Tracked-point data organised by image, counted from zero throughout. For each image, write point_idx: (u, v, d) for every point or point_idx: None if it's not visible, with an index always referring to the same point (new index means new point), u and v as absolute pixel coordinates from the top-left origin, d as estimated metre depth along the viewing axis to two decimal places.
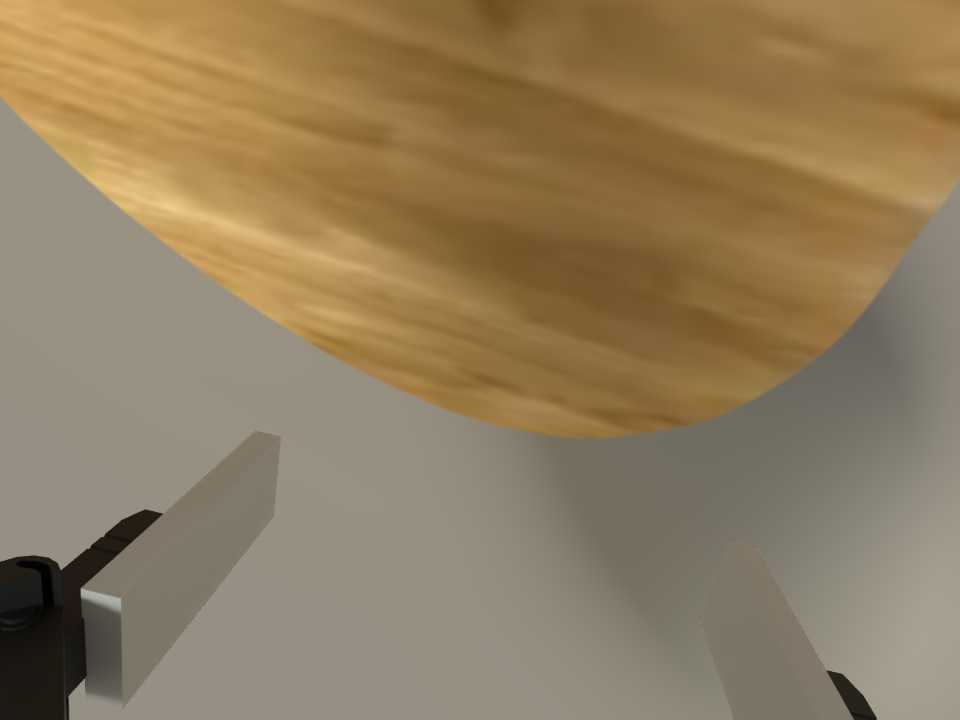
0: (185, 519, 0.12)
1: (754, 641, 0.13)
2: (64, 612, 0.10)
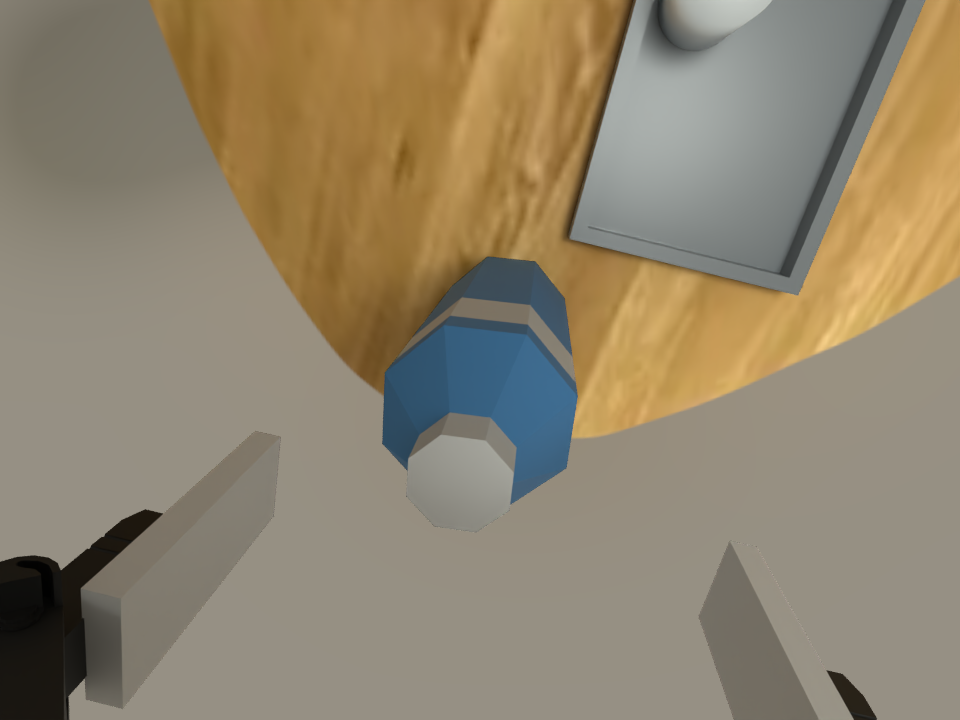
0: (185, 519, 0.12)
1: (754, 641, 0.13)
2: (64, 612, 0.10)
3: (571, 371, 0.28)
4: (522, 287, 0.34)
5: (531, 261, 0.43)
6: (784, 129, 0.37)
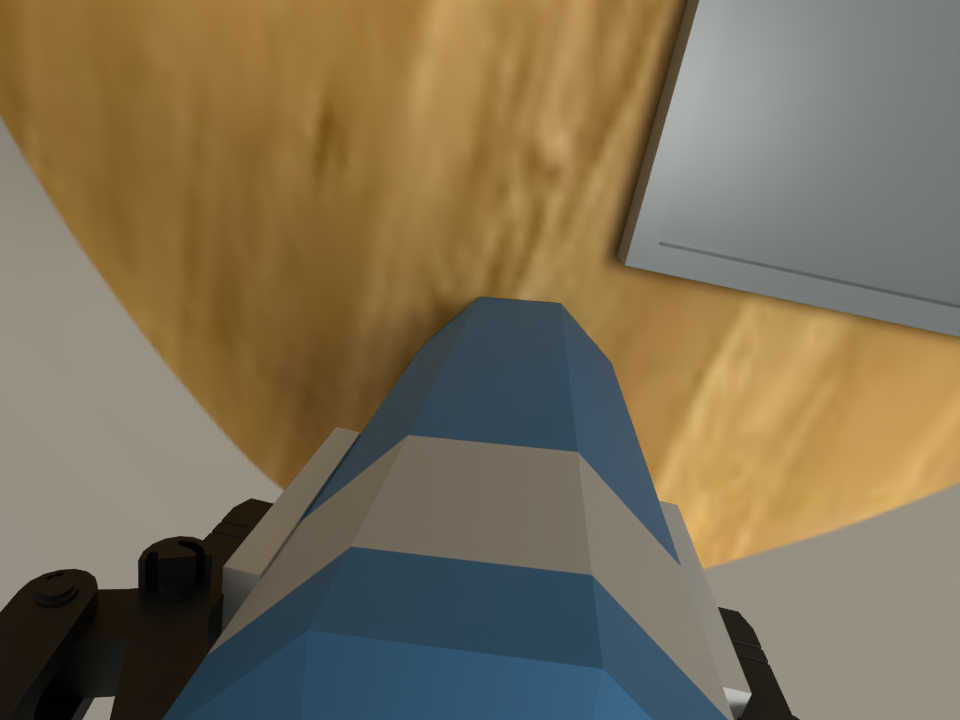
0: (296, 506, 0.14)
1: None
2: None
3: (710, 667, 0.10)
4: (548, 379, 0.16)
5: (554, 303, 0.25)
6: None
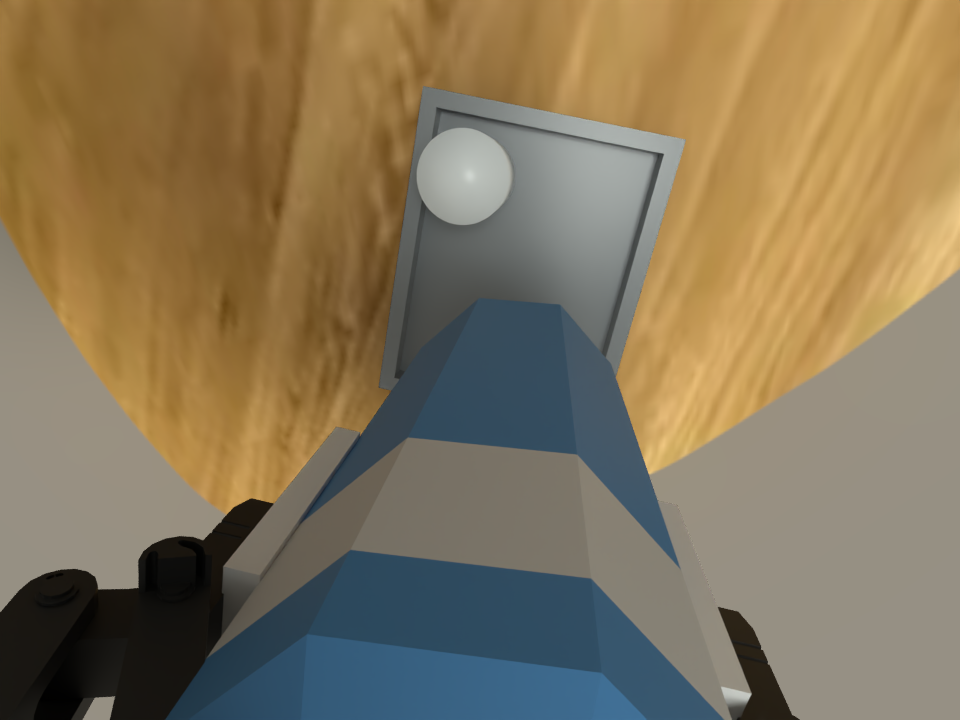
0: (296, 506, 0.14)
1: None
2: None
3: (709, 669, 0.10)
4: (548, 381, 0.16)
5: (553, 304, 0.25)
6: (571, 284, 0.39)
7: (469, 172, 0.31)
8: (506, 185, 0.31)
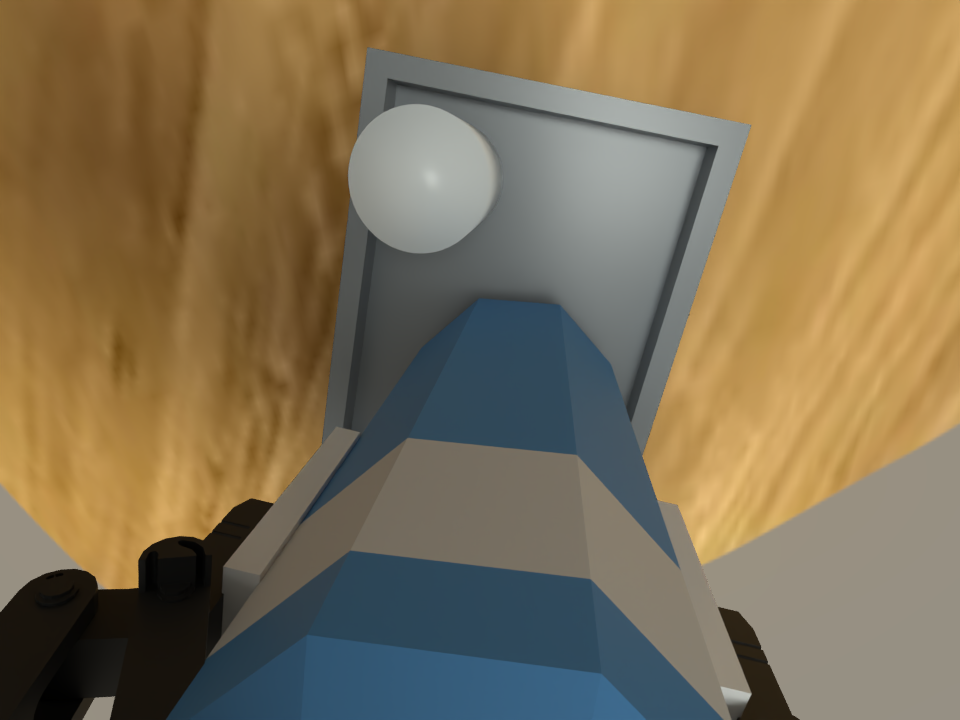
0: (296, 506, 0.14)
1: None
2: None
3: (708, 670, 0.10)
4: (548, 381, 0.16)
5: (553, 304, 0.25)
6: (581, 327, 0.28)
7: (429, 174, 0.20)
8: (485, 193, 0.20)
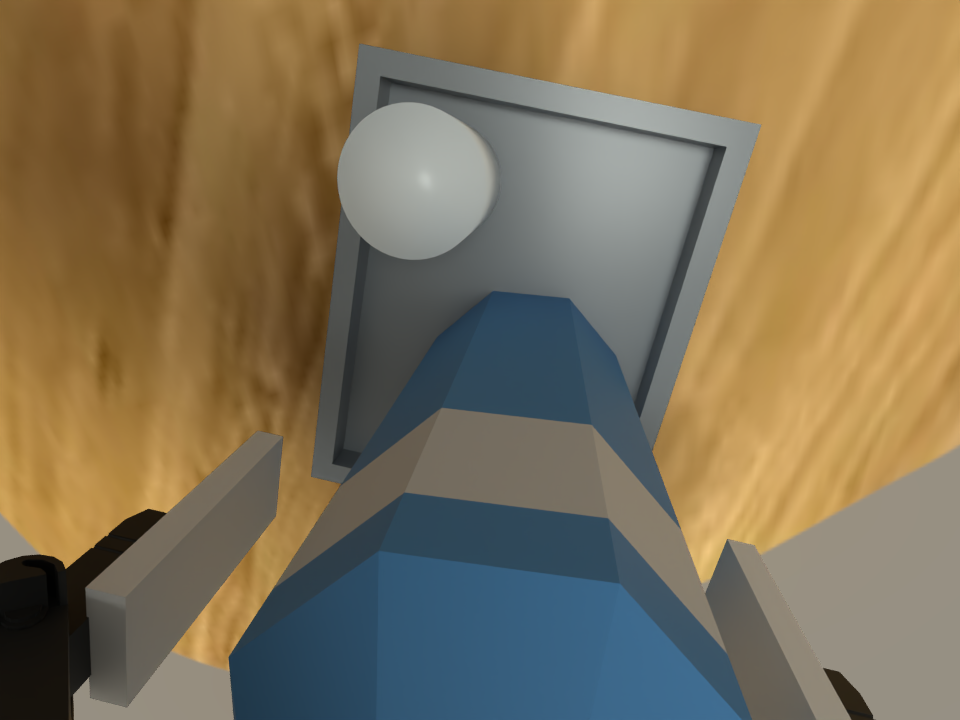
0: (189, 518, 0.12)
1: (751, 640, 0.13)
2: (69, 611, 0.10)
3: (705, 606, 0.11)
4: (562, 364, 0.17)
5: (563, 298, 0.27)
6: None
7: (422, 176, 0.19)
8: (482, 197, 0.19)
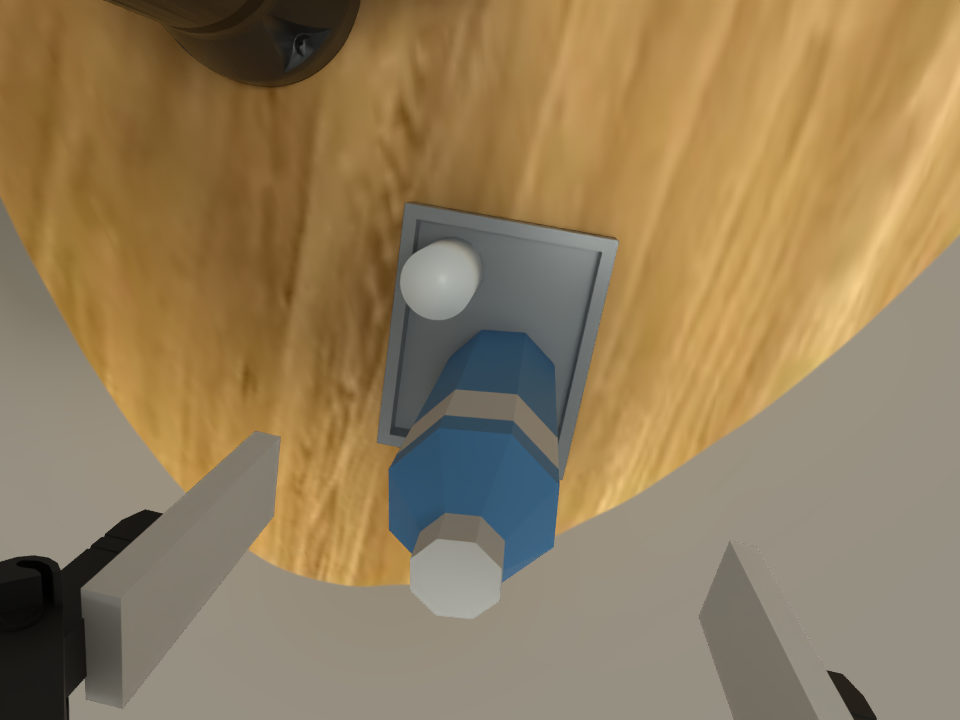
0: (185, 519, 0.12)
1: (754, 641, 0.13)
2: (64, 612, 0.10)
3: (555, 457, 0.31)
4: (511, 370, 0.37)
5: None
6: None
7: (442, 280, 0.39)
8: (471, 289, 0.39)
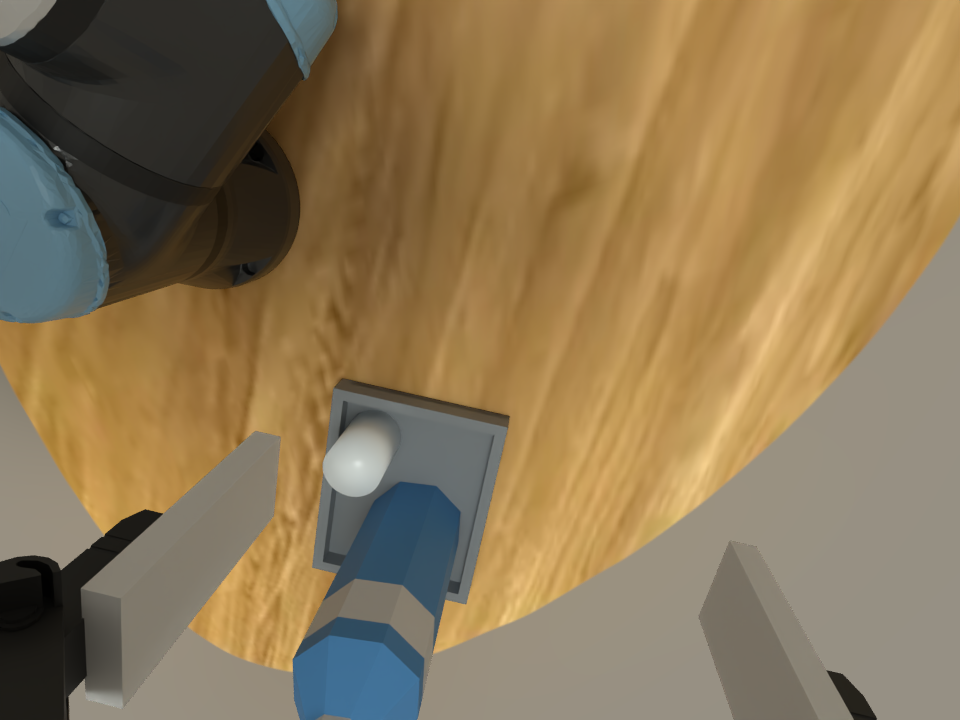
0: (185, 519, 0.12)
1: (754, 641, 0.13)
2: (64, 612, 0.10)
3: (424, 644, 0.40)
4: (407, 548, 0.46)
5: (433, 486, 0.55)
6: None
7: (356, 468, 0.48)
8: (380, 476, 0.48)
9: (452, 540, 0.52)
